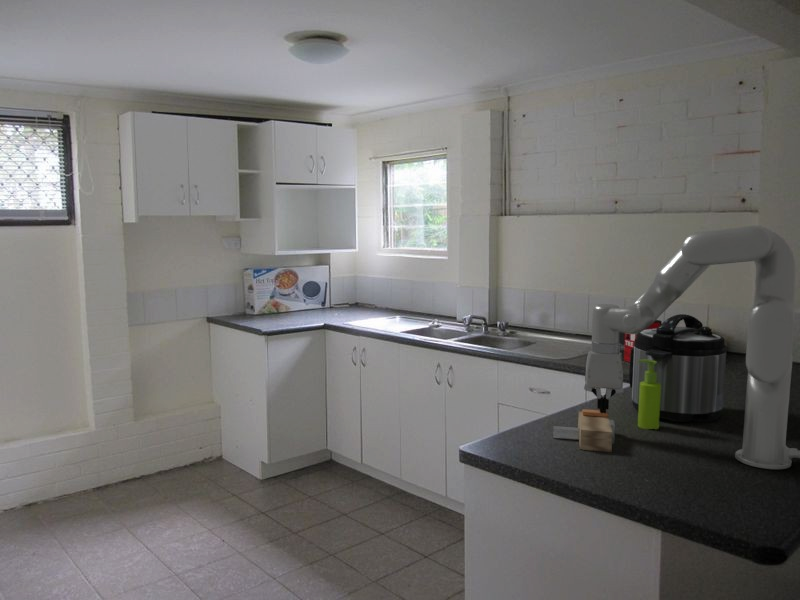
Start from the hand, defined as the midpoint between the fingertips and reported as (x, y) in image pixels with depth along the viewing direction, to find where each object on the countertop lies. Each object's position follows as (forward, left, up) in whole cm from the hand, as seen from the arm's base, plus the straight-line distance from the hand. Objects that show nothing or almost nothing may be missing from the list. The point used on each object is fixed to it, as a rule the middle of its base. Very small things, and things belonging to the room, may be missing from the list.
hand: (602, 411), depth 190 cm
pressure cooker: (-24, -29, -7) cm, 38 cm away
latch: (+2, 0, -1) cm, 2 cm away
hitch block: (+3, +6, -7) cm, 9 cm away
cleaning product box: (-21, -103, -7) cm, 105 cm away
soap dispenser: (-13, -11, -7) cm, 19 cm away
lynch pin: (+5, +6, -7) cm, 10 cm away
